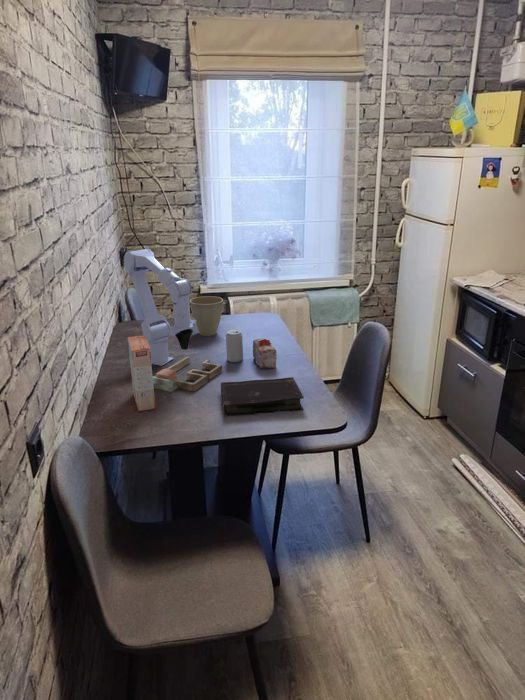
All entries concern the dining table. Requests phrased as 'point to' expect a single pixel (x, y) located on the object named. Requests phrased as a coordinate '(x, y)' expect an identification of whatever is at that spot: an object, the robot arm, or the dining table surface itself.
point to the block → (167, 374)
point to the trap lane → (188, 376)
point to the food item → (264, 353)
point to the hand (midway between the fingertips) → (184, 348)
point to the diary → (261, 396)
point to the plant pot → (207, 313)
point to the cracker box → (141, 372)
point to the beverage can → (234, 345)
